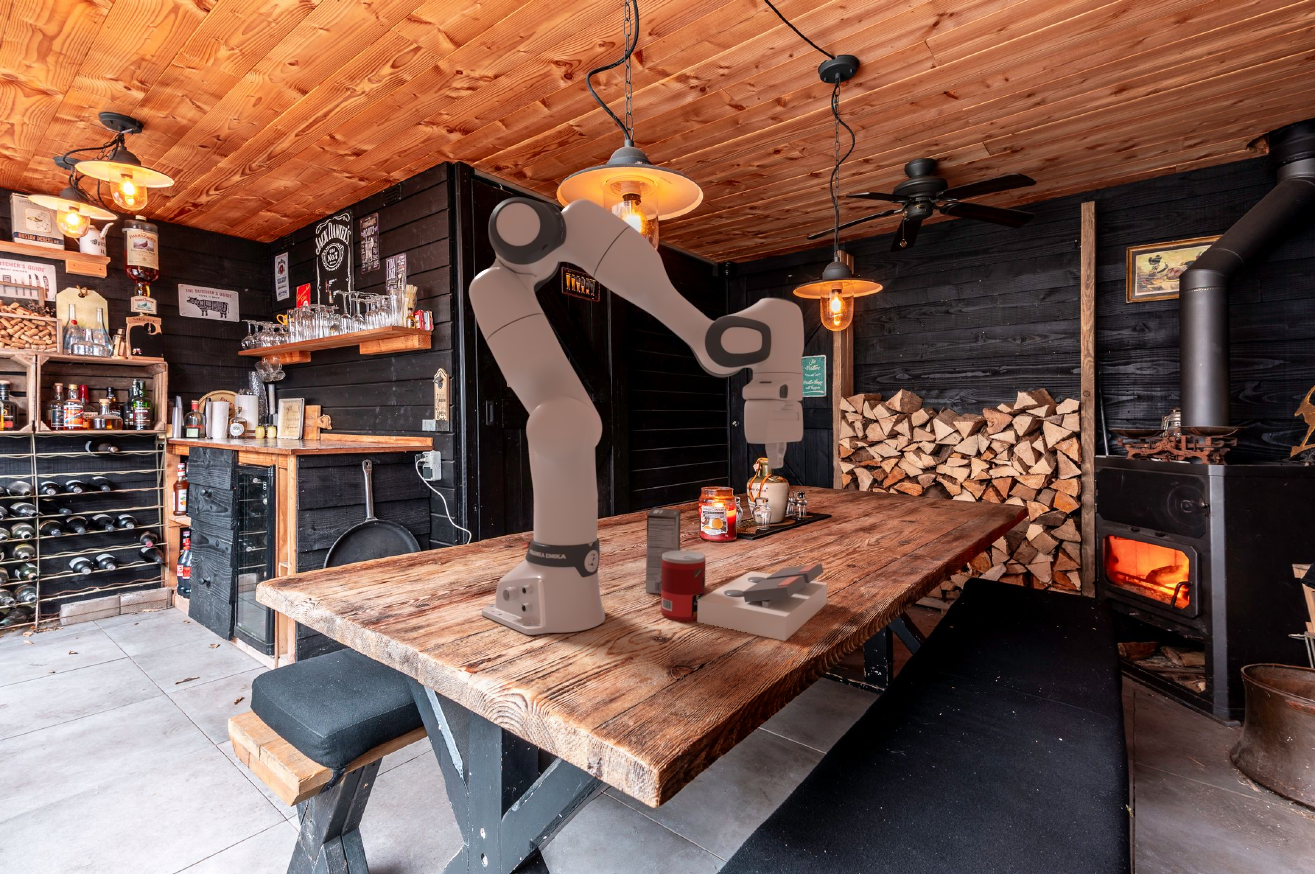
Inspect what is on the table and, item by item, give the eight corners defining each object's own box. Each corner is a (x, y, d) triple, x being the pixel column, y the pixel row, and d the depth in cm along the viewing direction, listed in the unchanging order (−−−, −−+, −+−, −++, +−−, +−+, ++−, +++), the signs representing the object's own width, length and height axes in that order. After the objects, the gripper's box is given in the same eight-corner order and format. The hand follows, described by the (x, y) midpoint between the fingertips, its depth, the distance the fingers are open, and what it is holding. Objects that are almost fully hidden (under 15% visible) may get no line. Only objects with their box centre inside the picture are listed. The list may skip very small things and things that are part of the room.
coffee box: (651, 581, 132) (652, 507, 132) (680, 582, 132) (681, 508, 131) (644, 593, 123) (645, 514, 123) (675, 594, 123) (677, 515, 122)
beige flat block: (697, 622, 106) (697, 593, 106) (750, 590, 127) (751, 566, 127) (785, 641, 98) (785, 610, 98) (826, 603, 119) (827, 578, 118)
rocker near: (745, 602, 104) (742, 590, 104) (764, 589, 112) (762, 579, 112) (788, 597, 100) (786, 586, 100) (805, 585, 108) (803, 574, 108)
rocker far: (768, 587, 114) (766, 576, 114) (784, 576, 121) (782, 567, 122) (809, 582, 110) (806, 572, 110) (823, 572, 117) (821, 562, 117)
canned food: (701, 623, 106) (702, 561, 105) (656, 619, 107) (657, 558, 107) (706, 610, 113) (708, 551, 113) (664, 606, 115) (665, 549, 114)
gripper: (780, 393, 119) (778, 463, 119) (738, 388, 101) (736, 470, 102) (812, 393, 116) (810, 465, 116) (774, 387, 98) (772, 472, 99)
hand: (775, 467), depth 109 cm, fingers closed
